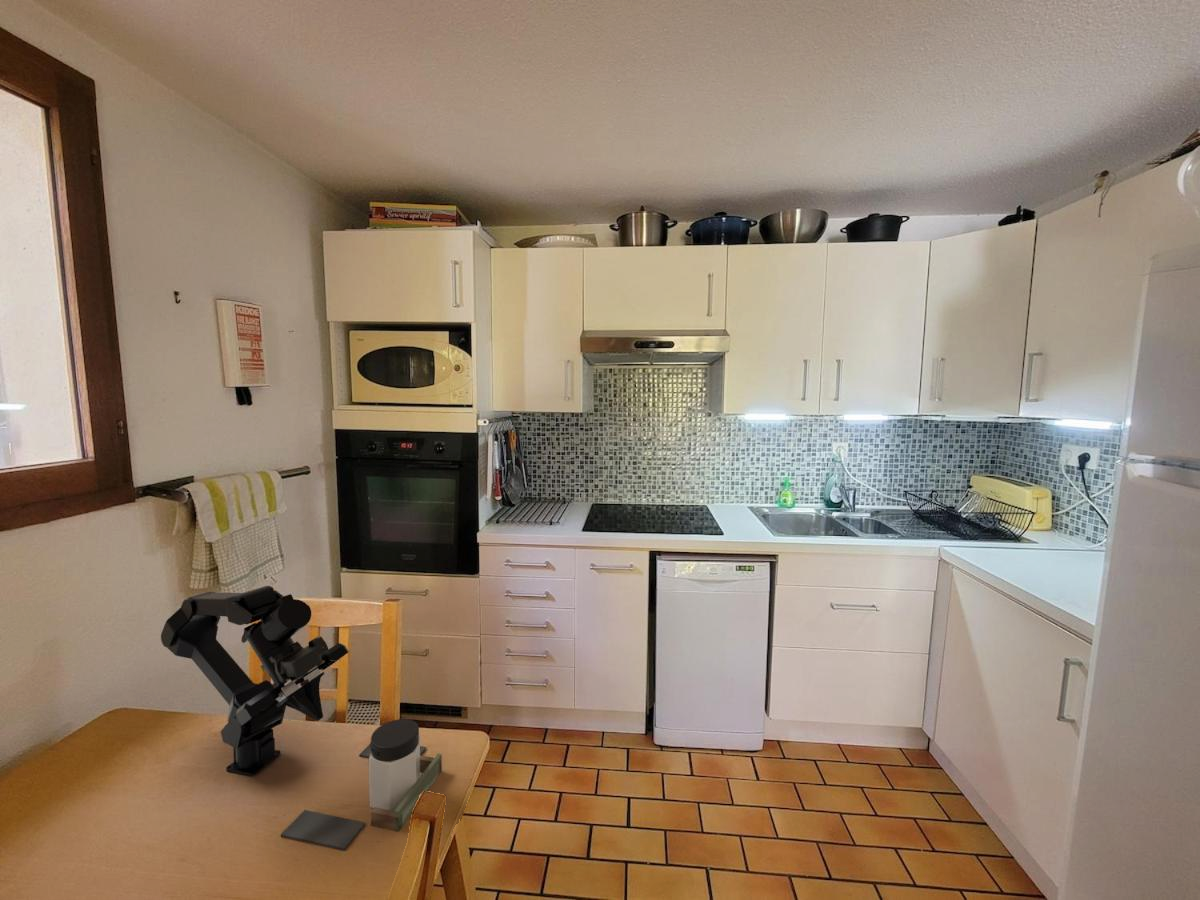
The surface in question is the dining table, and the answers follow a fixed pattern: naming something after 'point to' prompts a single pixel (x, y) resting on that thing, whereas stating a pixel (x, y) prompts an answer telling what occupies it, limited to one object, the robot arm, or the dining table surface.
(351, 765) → the dining table surface
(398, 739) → the jar
